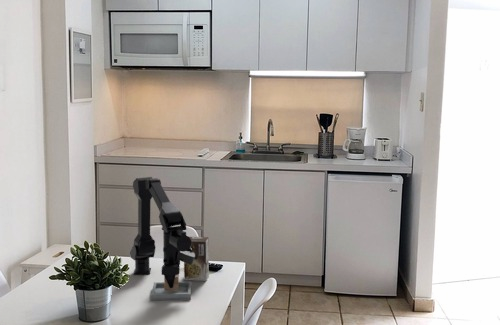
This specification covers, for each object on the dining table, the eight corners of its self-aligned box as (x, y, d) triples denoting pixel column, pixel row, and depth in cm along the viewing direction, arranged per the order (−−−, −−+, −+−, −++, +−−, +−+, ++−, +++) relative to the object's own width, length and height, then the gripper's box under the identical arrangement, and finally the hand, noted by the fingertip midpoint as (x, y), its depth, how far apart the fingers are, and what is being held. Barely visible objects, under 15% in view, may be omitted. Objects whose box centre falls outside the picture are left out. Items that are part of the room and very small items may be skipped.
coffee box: (209, 275, 228) (209, 236, 226) (206, 281, 222) (206, 241, 219) (186, 274, 229) (186, 235, 226) (183, 280, 223) (183, 240, 220)
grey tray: (153, 287, 214) (153, 282, 214) (191, 287, 215) (191, 281, 215) (151, 300, 202) (151, 294, 202) (190, 299, 203) (190, 293, 203)
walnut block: (165, 285, 211) (165, 272, 210) (178, 285, 211) (178, 272, 210) (164, 290, 206) (164, 277, 205) (178, 290, 206) (178, 277, 205)
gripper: (193, 251, 197) (193, 294, 200) (193, 236, 216) (193, 275, 218) (161, 252, 196) (161, 295, 199) (164, 237, 215) (164, 276, 217)
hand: (171, 285), depth 208 cm, fingers closed on walnut block, 5 cm apart
